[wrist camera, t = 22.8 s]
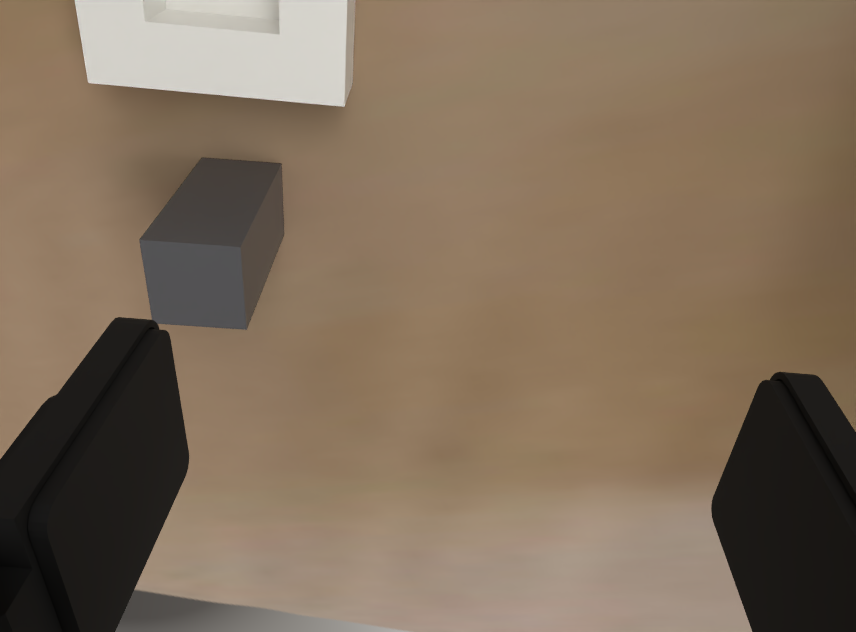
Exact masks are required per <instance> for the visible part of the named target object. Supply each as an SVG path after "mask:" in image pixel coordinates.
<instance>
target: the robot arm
mask: <svg viewBox="0 0 856 632" xmlns="http://www.w3.org/2000/svg"><path fill="white" fill-rule="evenodd" d="M188 464H189V451H188V445H187V439H186V433H185V426H184V420H183V414H182V408H181V402H180V396H179V389H178V383H177V377H176V371H175V365H174V359H173V352H172V346H171V340H170V336H169V333H168V332H167V331H166V330H159V326H158V324H157V323H156V321H154V320H146V319H134V318H122V317H118V318H115V319H114V320H113V321H112V322H111V323H110V325H109V326H108V327H107V329H106V330H105V331H104V333H103V334H102V335H101V337H100V338H99V339H98V341H97V342H96V343H95V345H94V346H93V347H92V349H91V350H90V351H89V353H88V354H87V355H86V357H85V358H84V359H83V361H82V362H81V363H80V365H79V366H78V367H77V369H76V370H75V371H74V373H73V374H72V375H71V377H70V378H69V379H68V381H67V382H66V383H65V385H64V386H63V387H62V389H61V390H60V391H59V393H58V394H57V395H55V396H53V397H50V398H49V399H48V400H47V401H46V402H45V403H44V404H43V405H42V406H41V407H40V408H39V410H38V411H37V412H36V414H35V415H34V416H33V417H32V419H31V420H30V421H29V423H28V424H27V425H26V427H25V428H24V429H23V431H22V432H21V433H20V434H19V436H18V437H17V438H16V440H15V441H14V442H13V444H12V445H11V446H10V447H9V449H8V450H7V451H6V453H5V454H4V455H3V457H2V458H1V459H0V632H115V630H116V628H117V626H118V624H119V622H120V620H121V617H122V615H123V613H124V611H125V609H126V606H127V604H128V602H129V600H130V598H131V595H132V593H133V591H134V589H135V586H136V584H137V582H138V580H139V578H140V575H141V573H142V571H143V569H144V567H145V564H146V562H147V560H148V558H149V556H150V553H151V551H152V549H153V547H154V545H155V542H156V540H157V538H158V536H159V534H160V531H161V529H162V527H163V525H164V522H165V520H166V518H167V516H168V514H169V511H170V509H171V507H172V505H173V503H174V500H175V498H176V496H177V494H178V492H179V489H180V487H181V485H182V483H183V481H184V478H185V476H186V473H187V469H188ZM712 518H713V522H714V525H715V528H716V530H717V533H718V536H719V539H720V542H721V545H722V547H723V550H724V553H725V556H726V559H727V561H728V564H729V567H730V570H731V573H732V575H733V578H734V581H735V584H736V587H737V590H738V592H739V595H740V598H741V601H742V604H743V606H744V609H745V612H746V615H747V618H748V620H749V623H750V626H751V629H752V632H856V432H855V430H854V429H853V427H852V426H851V424H850V423H849V421H848V420H847V418H846V417H845V415H844V414H843V412H842V410H841V409H840V407H839V406H838V404H837V403H836V401H835V400H834V398H833V397H832V395H831V394H830V392H829V391H828V389H827V387H826V386H825V384H824V383H823V381H822V380H821V379H820V378H819V377H818V376H816V375H810V374H798V373H786V372H778V373H775V374H774V375H773V376H772V377H771V379H770V380H764V381H762V382H761V383H760V384H759V386H758V388H757V391H756V393H755V396H754V398H753V401H752V403H751V405H750V408H749V410H748V413H747V415H746V418H745V420H744V423H743V425H742V428H741V430H740V432H739V435H738V437H737V440H736V442H735V445H734V447H733V450H732V452H731V455H730V457H729V459H728V462H727V464H726V467H725V469H724V472H723V474H722V477H721V479H720V482H719V484H718V486H717V489H716V491H715V494H714V496H713V500H712Z"/></svg>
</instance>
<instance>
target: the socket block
mask: <svg viewBox="0 0 856 632" xmlns="http://www.w3.org/2000/svg"><path fill="white" fill-rule="evenodd" d="M75 5H76V11H77V17H78V23H79V29H80V36H81V42H82V48H83V54H84V60H85V66H86V72H87V78H88V83H95V84H106V85H116V86H127V87H138V88H148V89H159V90H170V91H181V92H191V93H202V94H213V95H224V96H234V97H245V98H256V99H266V100H277V101H288V102H299V103H309V104H320V105H331V106H342V107H344V106H345V104H346V101H347V98H348V95H349V92H350V90H351V87H352V84H353V58H354V28H355V0H75Z"/></svg>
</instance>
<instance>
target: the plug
mask: <svg viewBox="0 0 856 632" xmlns="http://www.w3.org/2000/svg"><path fill="white" fill-rule="evenodd" d="M283 236H284V214H283V188H282V164H281V163H268V162H255V161H241V160H228V159H214V158H201V159H200V161H199V162H198V163H197V165H196V166H195V167H194V169H193V170H192V171H191V173H190V174H189V175H188V177H187V178H186V179H185V180H184V182H183V183H182V184H181V186H180V187H179V188H178V190H177V191H176V192H175V194H174V195H173V196H172V198H171V199H170V200H169V202H168V203H167V204H166V205H165V207H164V208H163V209H162V211H161V212H160V213H159V215H158V216H157V217H156V219H155V220H154V221H153V223H152V224H151V225H150V227H149V228H148V229H147V230H146V232H145V233H144V234H143V236H142V237H141V238H140V240H139V241H140V247H141V253H142V259H143V266H144V272H145V278H146V284H147V290H148V297H149V303H150V309H151V315H152V320H154V321H156V323H157V324H171V325H186V326H201V327H215V328H230V329H245V330H247V327H248V325H249V322H250V320H251V317H252V315H253V312H254V310H255V307H256V305H257V302H258V300H259V297H260V295H261V292H262V290H263V287H264V284H265V282H266V279H267V277H268V274H269V272H270V269H271V267H272V264H273V262H274V259H275V257H276V254H277V252H278V249H279V247H280V244H281V241H282V239H283Z"/></svg>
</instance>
